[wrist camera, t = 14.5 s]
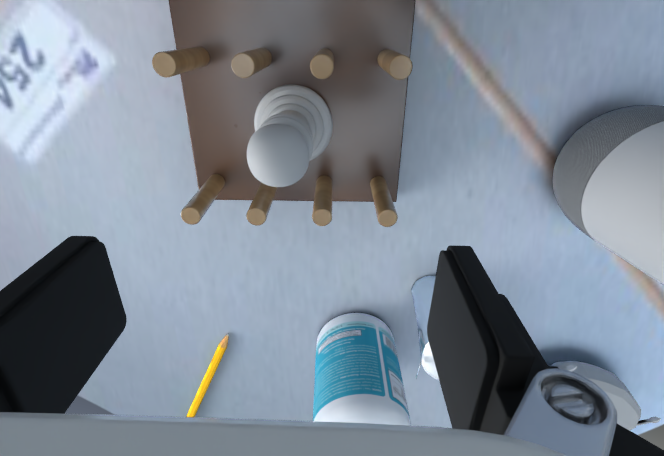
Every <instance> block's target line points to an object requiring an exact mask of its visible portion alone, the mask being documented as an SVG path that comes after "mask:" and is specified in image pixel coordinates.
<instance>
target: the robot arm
mask: <svg viewBox="0 0 664 456" xmlns="http://www.w3.org/2000/svg"><path fill="white" fill-rule="evenodd" d="M125 326H126V314H125V311H124V308H123V304H122V301H121V298H120V295H119V291H118V288H117V285H116V281H115V278H114V275H113V271H112V268H111V265H110V261H109V258H108V255H107V251H106V248H105V245H104V244H103V243H102V242H99V240H98V239H97V238H96V237H93V236H71V237H69V238H67V239H66V240H65V241H63V242H62V243H61V244H60V245H58V246H57V247H56V248H54V249H53V250H52V251H51V252H49V253H48V254H47V255H46V256H44V257H43V258H42V259H40V260H39V261H38V262H37V263H35V264H34V265H33V266H32V267H30V268H29V269H28V270H26V271H25V272H24V273H23V274H21V275H20V276H19V277H17V278H16V279H15V280H14V281H12V282H11V283H10V284H9V285H7V286H6V287H5V288H3V289H2V290H1V291H0V456H664V450H662V449H660V448H658V447H657V446H655V445H653V444H652V443H650V442H648V441H646V440H645V439H643V438H641V437H640V436H638V435H636V434H634V433H633V432H631V431H629V430H627V429H626V428H624V427H622V426H621V425H619V424H617V410H616V408H615V406H614V403H613V401H612V400H611V399H610V398H609V396H608V395H607V394H606V393H605V392H604V391H603V390H602V389H601V388H600V387H599V386H597V385H596V384H595V383H594V382H592V381H590V380H589V379H587V378H585V377H583V376H582V375H579V374H577V373H574V372H571V371H568V370H563V369H558V368H554V369H549V367H548V365H547V364H546V362H545V360H544V359H543V357H542V355H541V354H540V352H539V350H538V349H537V347H536V346H535V344H534V342H533V341H532V339H531V337H530V336H529V334H528V332H527V331H526V329H525V327H524V326H523V324H522V322H521V321H520V319H519V317H518V316H517V314H516V312H515V311H514V309H513V307H512V306H511V304H510V302H509V301H508V299H507V298H506V297H505V295H502V294H498V292H497V290H496V289H495V287H494V285H493V284H492V282H491V280H490V278H489V277H488V275H487V273H486V271H485V270H484V268H483V266H482V265H481V263H480V261H479V259H478V258H477V256H476V254H475V253H474V251H473V249H472V248H471V247H470V246H448V248H447V251H441V252H440V255H439V261H438V266H437V272H436V278H435V284H434V289H433V295H432V301H431V307H430V312H429V318H428V324H427V336H428V341H429V344H430V348H431V351H432V355H433V359H434V362H435V366H436V370H437V373H438V377H439V381H440V384H441V388H442V391H443V395H444V399H445V402H446V406H447V410H448V413H449V417H450V421H451V424H452V428H442V427H427V426H409V425H390V424H371V423H346V422H318V421H291V420H263V419H233V418H201V417H168V416H134V415H96V414H64V413H65V412H66V410H67V409H68V408H69V406H70V405H71V403H72V402H73V401H74V399H75V398H76V396H77V395H78V393H79V392H80V391H81V389H82V388H83V386H84V385H85V384H86V382H87V381H88V379H89V378H90V377H91V375H92V374H93V372H94V371H95V370H96V368H97V367H98V365H99V364H100V362H101V361H102V360H103V358H104V357H105V355H106V354H107V353H108V351H109V350H110V348H111V347H112V346H113V344H114V343H115V341H116V340H117V339H118V337H119V336H120V334H121V333H122V332H123V330H124V328H125Z"/></svg>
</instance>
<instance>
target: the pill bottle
mask: <svg viewBox="0 0 664 456" xmlns="http://www.w3.org/2000/svg"><path fill="white" fill-rule="evenodd" d="M313 421H318V422H346V423H371V424H390V425H409V426H411V422H410V417H409V412H408V407H407V402H406V397H405V392H404V387H403V382H402V377H401V371H400V366H399V361H398V356H397V352H396V346H395V342H394V337H393V334H392V332H391V330H390V329H389V327H388V326H387V325H386V324H385V323H384V322H383V321H381V320H380V319H378V318H376V317H374V316H372V315H368V314H363V313H349V314H344V315H341V316H338V317H336V318H334V319H332V320H331V321H329V322H328V323H327V324H326V325H325V326H324V327H323V328H322V330H321V331H320V333H319V335H318V338H317V345H316V364H315V387H314V408H313Z"/></svg>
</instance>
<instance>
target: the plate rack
mask: <svg viewBox="0 0 664 456" xmlns="http://www.w3.org/2000/svg"><path fill="white" fill-rule="evenodd" d="M169 5H170V12H171V18H172V24H173V30H174V37H175V43H176V49H177V50H170V51H163V52H158V53H156V54H155V55H154V57H153V60H152V64H153V68H154V70H155V71H156V72H157V73H158V74H159V75H160V76H162V77H171V76H174V75H178V74H180V75H181V81H182V87H183V93H184V100H185V106H186V112H187V119H188V125H189V131H190V138H191V144H192V150H193V157H194V163H195V169H196V175H197V182H198V188H199V190H198V192H197V193H196V194H195V195H194V196H193V198H192V199H191V200H190V201H189V202H188V204H187V205H186V206H185V207H184V208H183V209H182V211H181V217H182V219H183V221H184V222H186V223H188V224H197V223H198V222H199V221H200V220H201V218H202V217H203V215H204V214H205V213H206V211H207V210H208V208H209V207H210V206H211V204H212V203H213V201H214V200H253V201H252V203H251V206H250V208H249V210H248V212H247V219H248V221H249V222H250V223H251V224H253V225H261V224H263V223H264V222H265V221H266V218H267V215H268V212H269V210H270V207H271V204H272V201H273V200H287V201H314V206H313V214H312V219H313V221H314V223H315V224H317V225H319V226H325V225H327V224H329V223H330V222H331V220H332V201H366V202H374V205H375V209H376V214H377V218H378V222H379V223H380V224H381V225H382V226H385V227H390V226H392V225H394V224H395V223H396V221H397V218H398V217H397V213H396V210H395V207H394V204H393V202H396V200H397V189H398V179H399V168H400V158H401V147H402V137H403V126H404V116H405V105H406V95H407V84H408V76H409V75H410V73H411V71H412V62H411V60H410V52H411V42H412V31H413V21H414V10H415V0H169ZM283 85H300V86H304V87H307V88H309V89H311V90H312V91H314V92H315V93H317V94H318V95H319V96H320V97H321V98H322V99H323V100H324V102H325V103H326V105H327V106H328V108H329V110H330V113H331V117H332V123H333V129H332V136H331V139H330V141H329V143H328V145H327V147H326V148H325V150H324V151H323V152H322V153H321V154H320V155H319V156H317V157H316V158H315V159H313V160H311V161H309V165H308V168H307V170H306V172H305V174H304V176H303V177H302V178H301V179H300V180H299V181H297V182H296V183H294V184H292V185H289V186H285V187H272V186H268V185H266V184H263V183H262V182H260V181H259V180H257V179H256V178H255V177H254V175H253V174H252V172H251V170H250V168H249V166H248V162H247V146H248V143H249V140H250V138H251V136H252V135H253V134H254V133H255V127H254V118H255V113H256V109H257V107H258V105H259V103H260V101H261V100H262V98H263V97H264V96H265V95H266V94H267V93H269V92H270V91H271V90H273V89H275V88H277V87H280V86H283Z"/></svg>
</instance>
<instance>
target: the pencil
mask: <svg viewBox="0 0 664 456" xmlns="http://www.w3.org/2000/svg"><path fill="white" fill-rule="evenodd" d="M228 338H229V333H228V334H227V335H226V336H225V338H224V339H223V340H222V341H221V342H220V344H219V346H218V348H217V350H216V352H215V355H214V357H213V359H212V361H211V363H210V366H209V368H208V370H207V372H206V374H205V377H204V379H203V381H202V383H201V386H200V388H199V390H198V392H197V394H196V397H195V399H194V401H193V403H192V405H191V408H190V410H189V412H188V414H187V417H195V414H196V412H197V410H198V408H199V406H200V404H201V402H202V399H203V397H204V395H205V393H206V391H207V389H208V387H209V384H210V382H211V380H212V378H213V376H214V374H215V372H216V369H217V367H218V365H219V363H220V361H221V359H222V357H223V354H224V352H225V350H226V348H227V344H228Z"/></svg>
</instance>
